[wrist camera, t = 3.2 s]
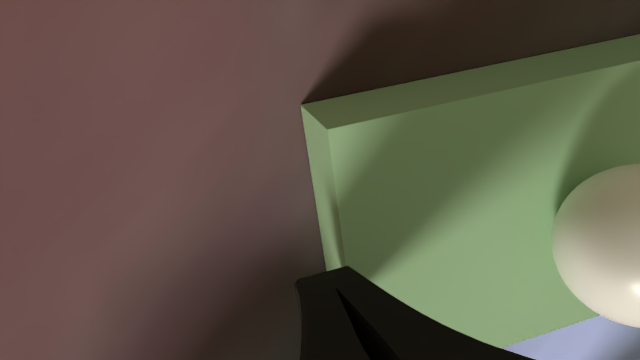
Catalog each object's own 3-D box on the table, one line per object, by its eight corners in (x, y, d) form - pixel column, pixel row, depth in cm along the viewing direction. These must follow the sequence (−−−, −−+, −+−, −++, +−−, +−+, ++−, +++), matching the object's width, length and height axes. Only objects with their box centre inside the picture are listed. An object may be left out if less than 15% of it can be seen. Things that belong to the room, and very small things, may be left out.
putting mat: (800, 196, 21) (877, 222, 19) (336, 339, 17) (363, 394, 15) (856, -11, 18) (955, -10, 15) (300, 104, 14) (327, 129, 11)
